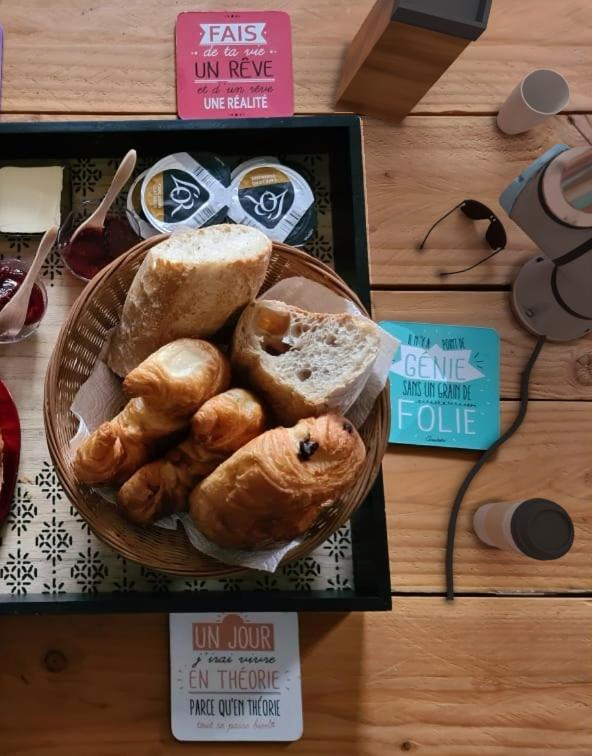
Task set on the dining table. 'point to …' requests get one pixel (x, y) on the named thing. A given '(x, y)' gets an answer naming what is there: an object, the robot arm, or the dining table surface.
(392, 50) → the stand
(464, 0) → the tray
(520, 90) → the cup
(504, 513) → the coffee cup
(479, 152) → the dining table surface
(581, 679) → the dining table surface
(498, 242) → the sunglasses
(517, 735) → the dining table surface
